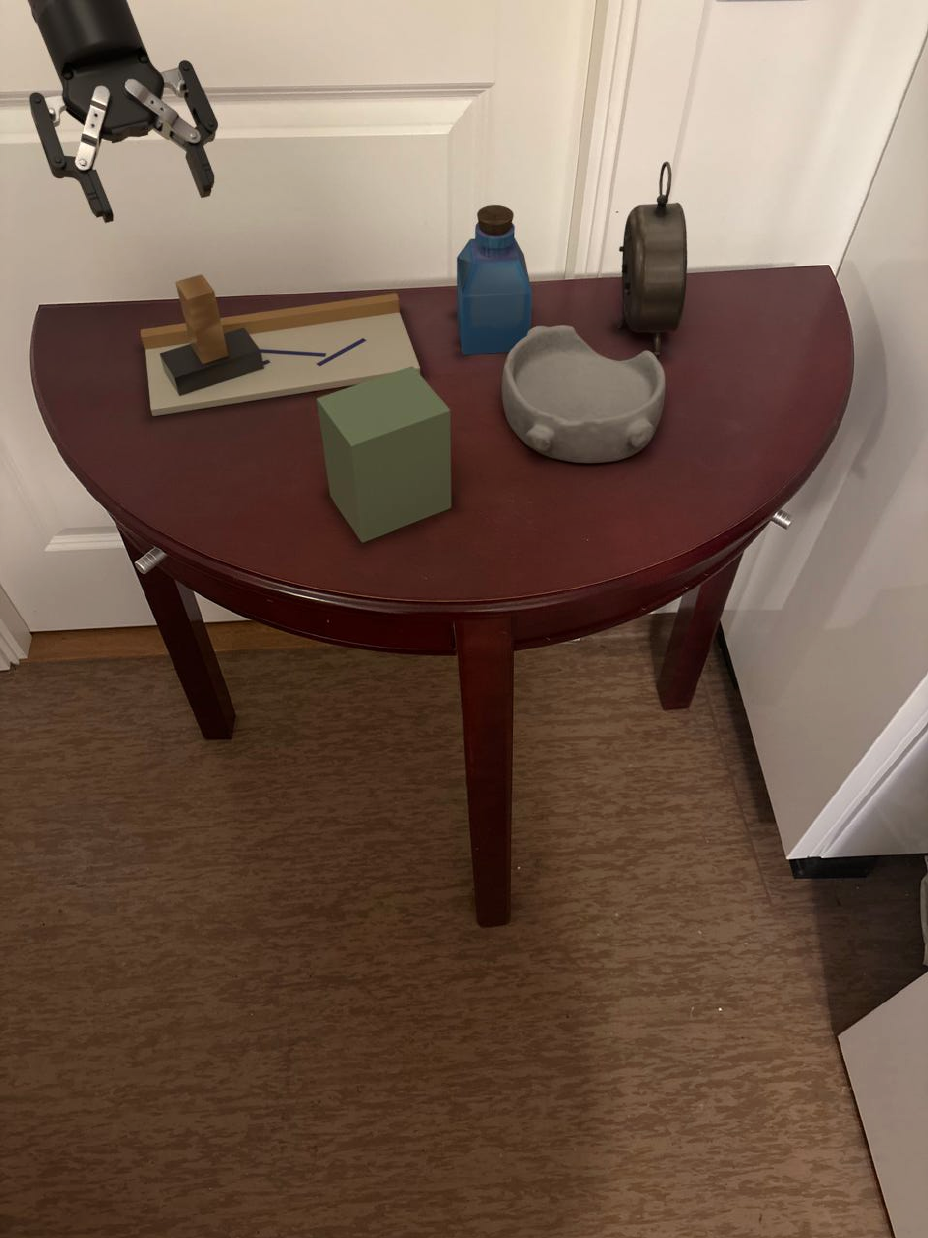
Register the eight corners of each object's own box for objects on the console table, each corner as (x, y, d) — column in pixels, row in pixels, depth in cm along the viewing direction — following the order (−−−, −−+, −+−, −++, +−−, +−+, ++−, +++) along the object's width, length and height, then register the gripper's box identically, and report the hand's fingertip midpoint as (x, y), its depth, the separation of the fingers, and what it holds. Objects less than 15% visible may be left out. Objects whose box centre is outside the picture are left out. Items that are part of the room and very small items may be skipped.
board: (152, 416, 88) (146, 396, 86) (146, 349, 94) (140, 329, 92) (420, 374, 92) (419, 354, 90) (397, 312, 98) (396, 292, 96)
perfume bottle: (462, 354, 94) (462, 235, 84) (457, 315, 98) (456, 197, 88) (528, 351, 94) (535, 231, 85) (520, 312, 98) (526, 194, 89)
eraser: (179, 395, 89) (155, 311, 82) (164, 371, 91) (140, 287, 84) (264, 368, 91) (248, 284, 84) (247, 345, 93) (230, 261, 87)
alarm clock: (675, 365, 93) (709, 197, 80) (616, 365, 93) (641, 196, 80) (663, 297, 100) (692, 132, 87) (608, 296, 100) (629, 131, 87)
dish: (512, 360, 93) (514, 313, 89) (663, 377, 92) (672, 330, 88) (486, 465, 84) (488, 418, 80) (653, 486, 83) (663, 439, 79)
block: (361, 543, 79) (350, 445, 71) (329, 496, 82) (315, 398, 74) (451, 508, 81) (450, 409, 73) (417, 463, 84) (412, 365, 77)
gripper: (-11, 3, 77) (75, 213, 80) (168, -31, 82) (244, 169, 84) (-2, 51, 84) (77, 242, 87) (162, 17, 89) (232, 200, 91)
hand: (159, 206), depth 86 cm, fingers open, 8 cm apart
